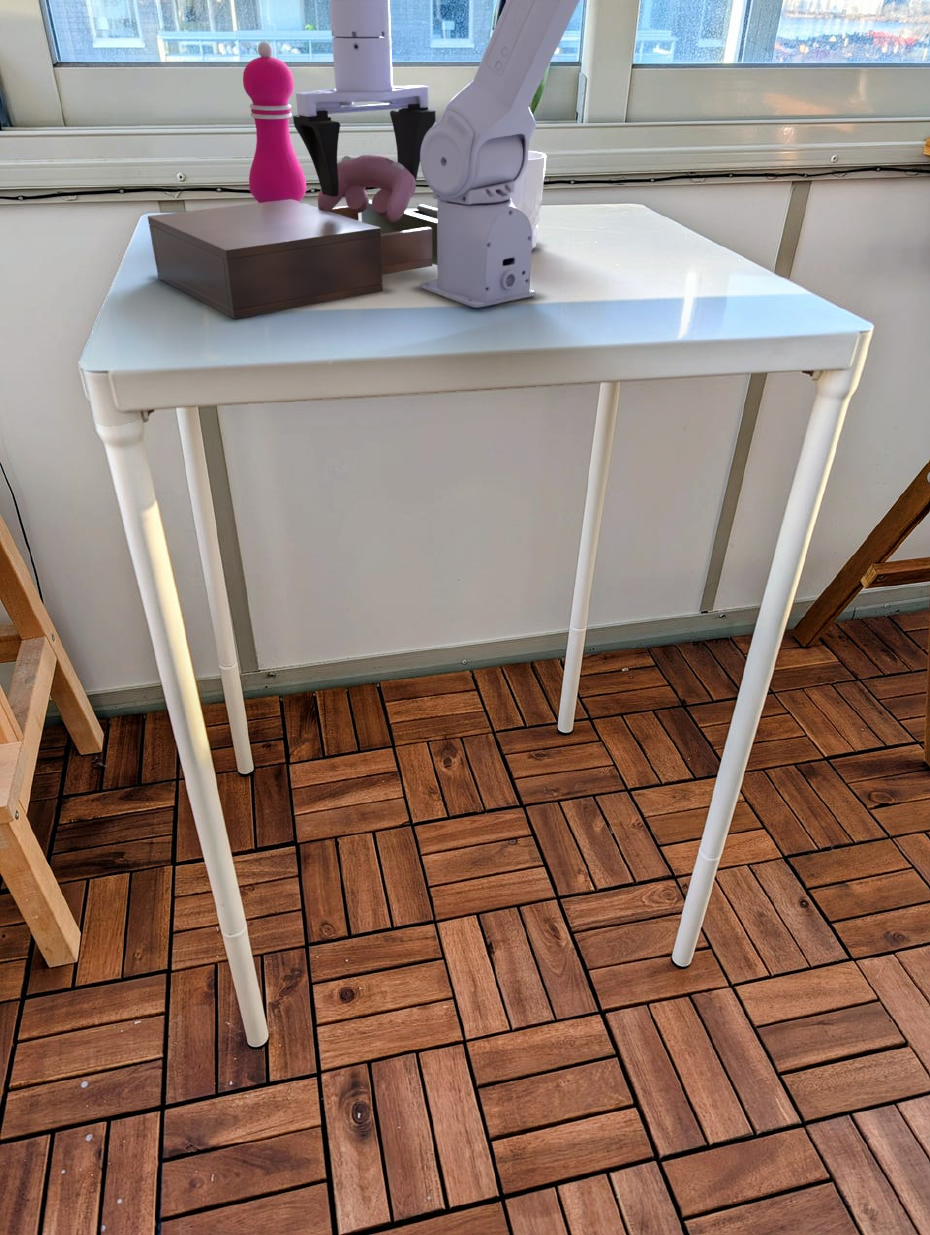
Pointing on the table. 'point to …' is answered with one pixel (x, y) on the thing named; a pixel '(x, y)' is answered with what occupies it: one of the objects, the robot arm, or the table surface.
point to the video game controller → (372, 173)
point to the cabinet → (266, 256)
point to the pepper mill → (272, 130)
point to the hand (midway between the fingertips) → (369, 190)
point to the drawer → (402, 237)
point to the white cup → (531, 190)
